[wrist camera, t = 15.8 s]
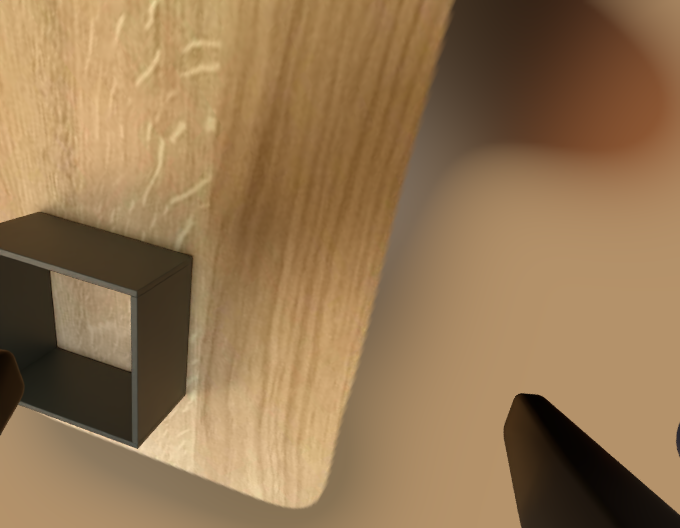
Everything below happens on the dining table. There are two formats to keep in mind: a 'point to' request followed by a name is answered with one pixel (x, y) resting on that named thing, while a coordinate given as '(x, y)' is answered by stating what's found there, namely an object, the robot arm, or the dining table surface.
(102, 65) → the dining table surface
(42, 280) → the dark grey square tray
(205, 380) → the dining table surface
